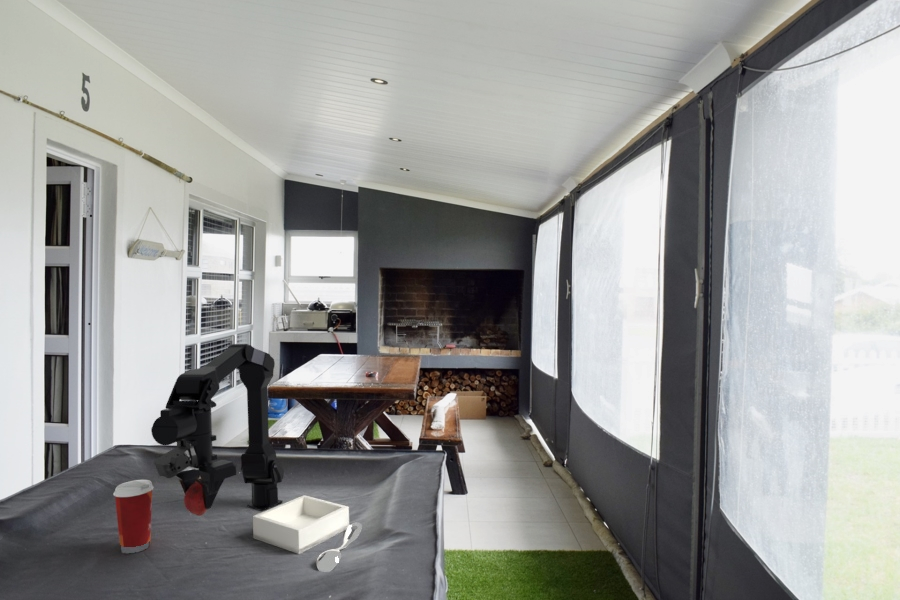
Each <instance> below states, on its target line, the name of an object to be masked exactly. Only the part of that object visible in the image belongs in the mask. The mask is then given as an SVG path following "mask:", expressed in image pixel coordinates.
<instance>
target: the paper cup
mask: <svg viewBox="0 0 900 600" xmlns="http://www.w3.org/2000/svg"><path fill="white" fill-rule="evenodd" d="M115 487H116V488H115V490H114V492H113V494H112V495H113V496H114V499H115V508H116V518H117V528H118V537H119V538H118V539H119V546H120V545H121V546H123V547H136V546H141V545H144V544H146V543H148V542H149V541H150V542H151V533H152V510H153V509H152V508H153V507H152V505H153V504H152V503H153V501H152V499H153V489H154V488H155V487H154V485H153V483H152V481H151V480H149V479H134V480H129V481H125V482H122V483H120V484H118V485H117V486H115Z"/></svg>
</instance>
